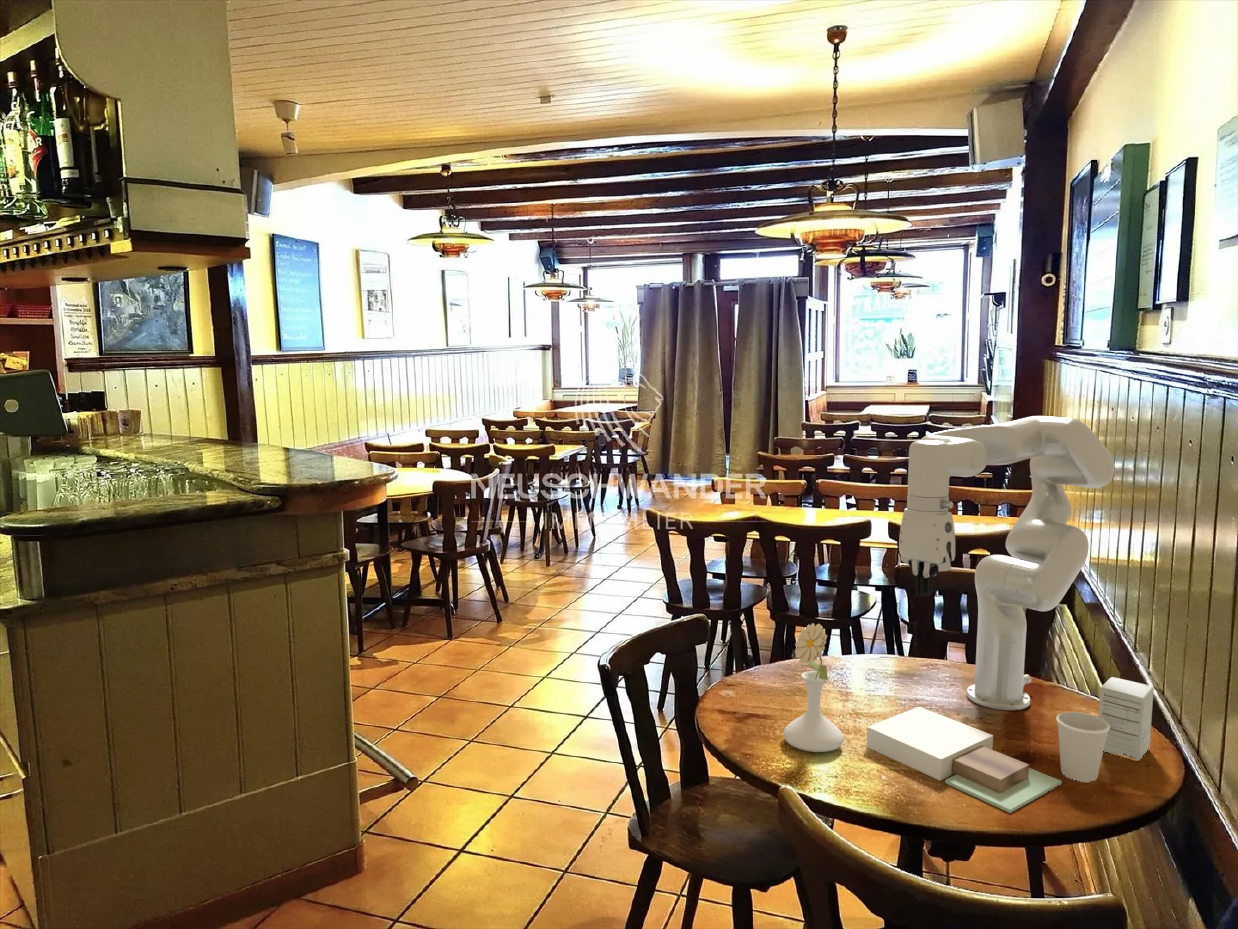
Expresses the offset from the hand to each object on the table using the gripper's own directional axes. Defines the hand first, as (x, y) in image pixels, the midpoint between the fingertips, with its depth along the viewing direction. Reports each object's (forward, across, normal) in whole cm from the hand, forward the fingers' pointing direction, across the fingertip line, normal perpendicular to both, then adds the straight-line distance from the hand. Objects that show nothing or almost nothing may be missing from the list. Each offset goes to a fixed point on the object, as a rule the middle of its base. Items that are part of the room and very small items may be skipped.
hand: (923, 595), depth 168 cm
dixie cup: (+27, -29, -6) cm, 40 cm away
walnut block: (+26, -21, +8) cm, 35 cm away
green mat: (+27, -23, +8) cm, 36 cm away
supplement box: (+27, -29, -22) cm, 46 cm away
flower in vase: (+27, +6, +24) cm, 37 cm away
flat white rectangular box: (+27, -8, +8) cm, 29 cm away
